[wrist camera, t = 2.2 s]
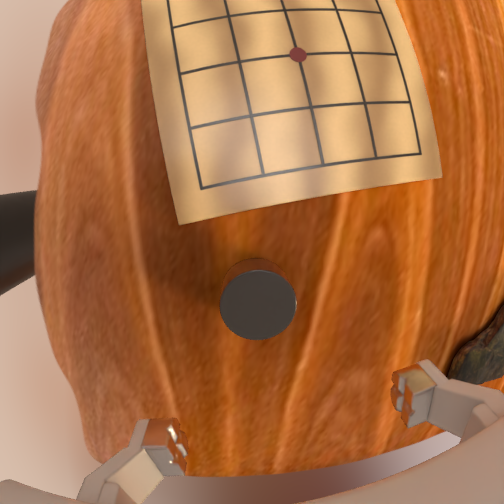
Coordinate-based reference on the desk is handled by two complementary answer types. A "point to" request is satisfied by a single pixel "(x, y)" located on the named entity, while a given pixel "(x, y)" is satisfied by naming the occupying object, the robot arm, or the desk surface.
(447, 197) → the desk surface
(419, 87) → the go board
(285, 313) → the game stone
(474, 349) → the stone
